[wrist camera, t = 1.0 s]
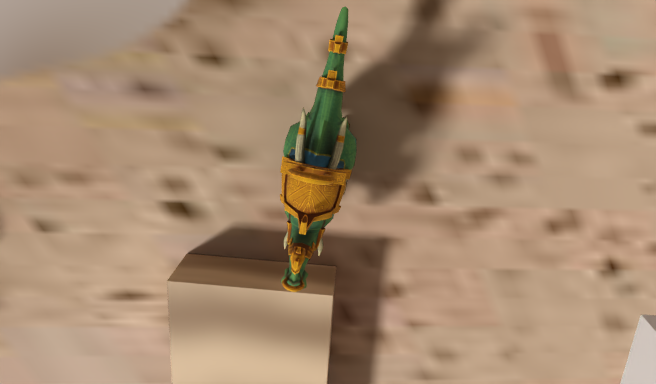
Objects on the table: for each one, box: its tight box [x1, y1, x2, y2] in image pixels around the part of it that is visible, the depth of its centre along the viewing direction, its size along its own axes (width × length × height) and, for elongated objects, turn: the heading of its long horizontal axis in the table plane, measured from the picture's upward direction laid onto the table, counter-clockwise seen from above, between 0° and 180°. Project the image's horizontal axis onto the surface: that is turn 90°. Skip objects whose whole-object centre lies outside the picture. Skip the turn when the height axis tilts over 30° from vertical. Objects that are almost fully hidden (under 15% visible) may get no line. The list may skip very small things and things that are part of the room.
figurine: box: [280, 7, 356, 292], centre depth 22 cm, size 3×12×8 cm, turn 170°
